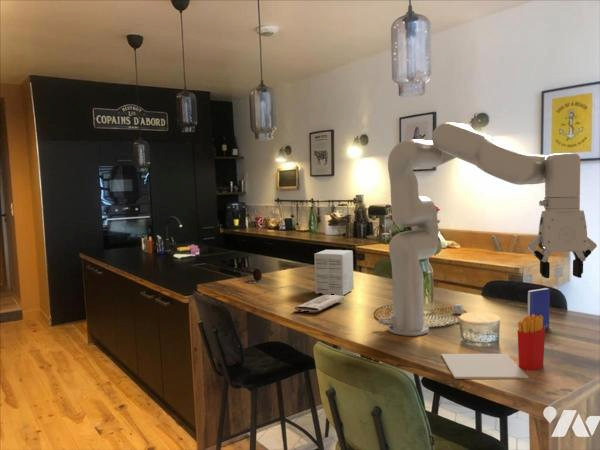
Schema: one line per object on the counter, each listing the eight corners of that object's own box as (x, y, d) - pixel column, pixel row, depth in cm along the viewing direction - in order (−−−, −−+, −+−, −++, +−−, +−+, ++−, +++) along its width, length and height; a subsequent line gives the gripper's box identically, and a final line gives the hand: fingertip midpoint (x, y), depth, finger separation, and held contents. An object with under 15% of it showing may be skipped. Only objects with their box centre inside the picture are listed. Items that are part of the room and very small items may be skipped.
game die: (465, 314, 176) (465, 305, 176) (454, 314, 176) (454, 306, 176) (460, 311, 180) (460, 303, 180) (450, 312, 180) (450, 304, 179)
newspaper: (318, 299, 208) (318, 293, 207) (345, 302, 201) (345, 295, 201) (289, 312, 188) (289, 305, 188) (318, 315, 182) (317, 308, 182)
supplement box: (326, 287, 228) (325, 249, 227) (354, 289, 222) (353, 250, 221) (314, 293, 216) (313, 253, 215) (343, 295, 210) (342, 254, 209)
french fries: (532, 360, 130) (532, 311, 129) (548, 364, 127) (548, 314, 126) (512, 368, 125) (512, 317, 124) (529, 373, 121) (529, 321, 120)
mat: (454, 378, 120) (454, 376, 120) (441, 355, 135) (441, 353, 135) (528, 378, 118) (528, 376, 118) (506, 355, 134) (506, 353, 134)
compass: (242, 284, 241) (241, 269, 241) (255, 281, 247) (254, 267, 246) (251, 286, 235) (251, 271, 235) (265, 283, 241) (264, 268, 240)
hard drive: (549, 327, 158) (550, 288, 156) (531, 331, 154) (531, 291, 153) (545, 326, 159) (546, 287, 158) (526, 330, 156) (527, 290, 155)
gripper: (531, 206, 119) (530, 280, 120) (607, 204, 118) (606, 279, 119) (519, 204, 126) (519, 274, 128) (591, 202, 125) (590, 273, 127)
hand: (561, 276), depth 123 cm, fingers open, 6 cm apart
